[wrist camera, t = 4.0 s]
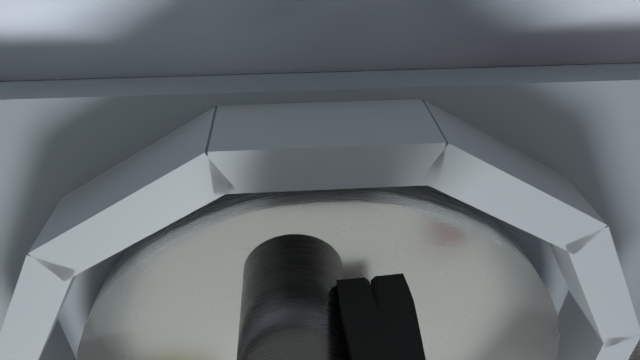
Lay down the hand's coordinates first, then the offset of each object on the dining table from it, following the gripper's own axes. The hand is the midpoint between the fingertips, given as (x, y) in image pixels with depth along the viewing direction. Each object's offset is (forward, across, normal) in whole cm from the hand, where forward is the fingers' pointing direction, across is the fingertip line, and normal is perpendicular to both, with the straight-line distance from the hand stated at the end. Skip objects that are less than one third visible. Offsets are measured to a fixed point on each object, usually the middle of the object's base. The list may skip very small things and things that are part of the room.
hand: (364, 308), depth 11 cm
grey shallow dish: (+4, +1, +5) cm, 6 cm away
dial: (+2, +1, +5) cm, 5 cm away
